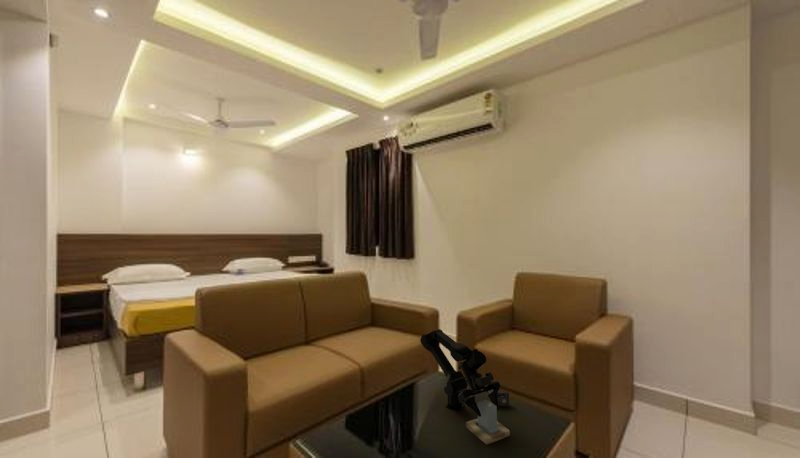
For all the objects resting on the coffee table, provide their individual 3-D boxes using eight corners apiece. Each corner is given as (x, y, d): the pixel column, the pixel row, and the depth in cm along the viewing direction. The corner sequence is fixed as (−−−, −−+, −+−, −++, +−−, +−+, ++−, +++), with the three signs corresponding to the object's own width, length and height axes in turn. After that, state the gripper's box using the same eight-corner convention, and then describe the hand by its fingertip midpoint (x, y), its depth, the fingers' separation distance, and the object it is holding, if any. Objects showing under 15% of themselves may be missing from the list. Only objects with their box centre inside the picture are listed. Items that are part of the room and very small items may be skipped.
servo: (475, 426, 143) (475, 398, 143) (484, 423, 145) (484, 395, 145) (490, 439, 135) (490, 408, 134) (499, 435, 137) (499, 405, 136)
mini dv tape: (508, 404, 159) (508, 391, 159) (508, 406, 158) (508, 393, 158) (489, 403, 160) (489, 391, 160) (490, 405, 159) (490, 392, 159)
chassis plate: (466, 427, 143) (466, 422, 143) (488, 419, 148) (488, 414, 148) (486, 444, 132) (486, 439, 132) (509, 435, 137) (509, 430, 137)
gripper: (461, 371, 138) (479, 412, 129) (497, 361, 147) (517, 399, 137) (450, 382, 146) (467, 422, 136) (485, 373, 154) (503, 409, 145)
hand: (489, 413), depth 138 cm, fingers open, 9 cm apart
